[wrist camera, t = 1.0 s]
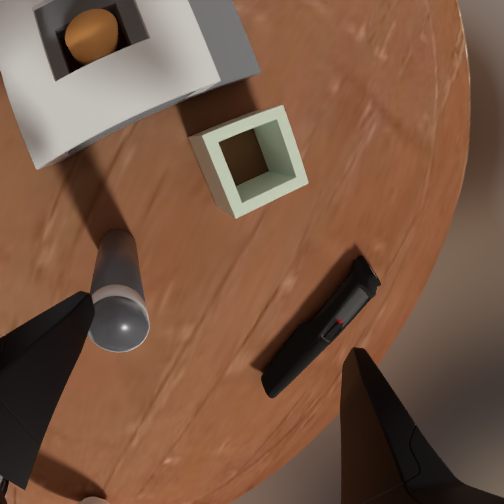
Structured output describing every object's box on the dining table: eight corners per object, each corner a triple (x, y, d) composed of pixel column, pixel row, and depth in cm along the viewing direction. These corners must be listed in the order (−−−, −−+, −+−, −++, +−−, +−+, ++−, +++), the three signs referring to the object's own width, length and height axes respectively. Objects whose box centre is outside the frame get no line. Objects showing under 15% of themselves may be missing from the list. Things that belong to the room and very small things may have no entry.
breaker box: (58, 163, 17) (36, 169, 12) (9, 19, 11) (-16, -10, 7) (249, 78, 20) (287, 61, 15) (194, -51, 14) (216, -91, 10)
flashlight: (111, 272, 20) (109, 361, 12) (92, 240, 19) (72, 314, 11) (143, 254, 21) (160, 334, 12) (125, 221, 20) (127, 283, 11)
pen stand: (216, 205, 22) (235, 218, 18) (187, 137, 20) (201, 135, 16) (279, 176, 23) (308, 183, 20) (256, 110, 21) (283, 104, 17)
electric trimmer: (245, 371, 29) (257, 393, 26) (357, 250, 29) (379, 262, 26) (269, 384, 30) (282, 404, 28) (373, 272, 31) (394, 285, 28)
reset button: (79, 74, 15) (73, 64, 12) (66, 37, 13) (59, 23, 11) (124, 53, 15) (124, 41, 13) (110, 17, 14) (109, 1, 12)
